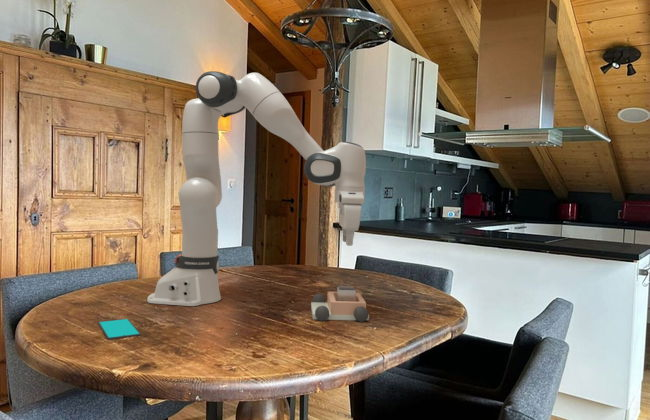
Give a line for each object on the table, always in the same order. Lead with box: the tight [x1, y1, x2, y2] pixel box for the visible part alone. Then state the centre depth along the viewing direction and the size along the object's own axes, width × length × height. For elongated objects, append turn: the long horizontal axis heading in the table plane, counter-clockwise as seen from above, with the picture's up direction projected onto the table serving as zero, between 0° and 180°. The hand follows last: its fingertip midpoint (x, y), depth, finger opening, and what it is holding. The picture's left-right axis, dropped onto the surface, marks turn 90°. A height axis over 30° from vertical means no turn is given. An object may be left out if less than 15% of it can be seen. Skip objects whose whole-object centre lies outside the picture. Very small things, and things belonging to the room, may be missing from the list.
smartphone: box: [97, 318, 142, 341], centre depth 115 cm, size 7×1×15 cm
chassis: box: [310, 291, 370, 323], centre depth 139 cm, size 16×17×5 cm
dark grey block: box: [336, 285, 357, 302], centre depth 139 cm, size 5×4×6 cm
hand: (347, 243), depth 138 cm, fingers open, 8 cm apart
